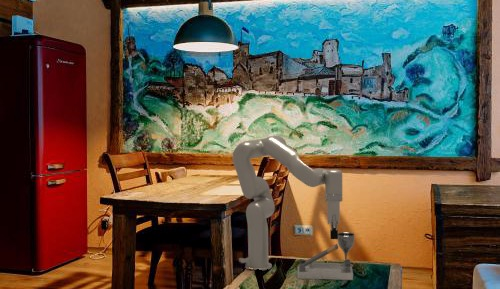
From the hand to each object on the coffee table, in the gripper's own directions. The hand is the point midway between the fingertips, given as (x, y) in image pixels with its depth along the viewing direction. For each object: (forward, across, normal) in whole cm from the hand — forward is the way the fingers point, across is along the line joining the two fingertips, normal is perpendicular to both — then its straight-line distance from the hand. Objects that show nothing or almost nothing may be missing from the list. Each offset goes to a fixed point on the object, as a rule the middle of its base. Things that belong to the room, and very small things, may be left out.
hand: (334, 238), depth 243 cm
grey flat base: (+17, 0, -4) cm, 17 cm away
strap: (+8, 0, -6) cm, 10 cm away
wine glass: (+17, -18, +6) cm, 25 cm away
